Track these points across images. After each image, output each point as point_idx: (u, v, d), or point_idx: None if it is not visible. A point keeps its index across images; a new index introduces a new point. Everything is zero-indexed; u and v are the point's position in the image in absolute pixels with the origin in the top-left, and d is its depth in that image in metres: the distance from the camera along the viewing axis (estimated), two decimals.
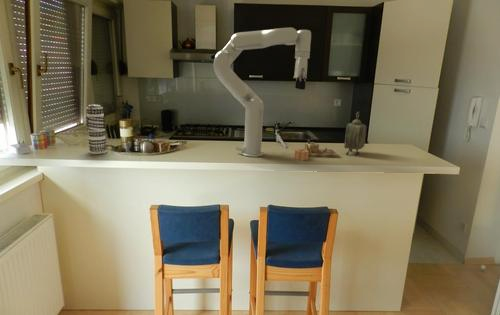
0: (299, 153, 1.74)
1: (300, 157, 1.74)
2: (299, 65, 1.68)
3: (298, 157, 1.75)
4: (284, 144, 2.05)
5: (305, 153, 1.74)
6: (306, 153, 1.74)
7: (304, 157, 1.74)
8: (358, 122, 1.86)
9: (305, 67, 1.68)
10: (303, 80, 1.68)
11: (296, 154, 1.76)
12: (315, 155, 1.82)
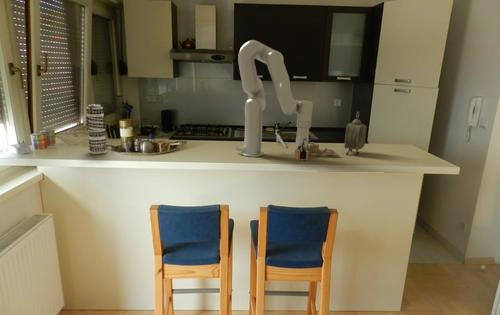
0: (299, 153, 1.74)
1: None
2: (301, 135, 1.70)
3: (298, 157, 1.75)
4: (284, 144, 2.05)
5: None
6: (306, 153, 1.74)
7: None
8: (358, 122, 1.86)
9: (306, 137, 1.70)
10: (304, 151, 1.71)
11: (296, 154, 1.76)
12: (315, 155, 1.82)
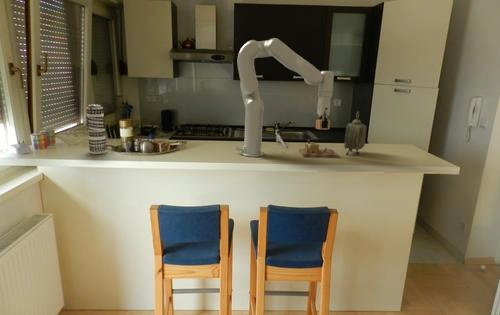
0: (321, 122, 1.79)
1: None
2: (322, 105, 1.75)
3: (320, 126, 1.80)
4: (284, 144, 2.05)
5: None
6: (328, 122, 1.79)
7: None
8: (358, 122, 1.86)
9: (328, 106, 1.75)
10: (326, 120, 1.76)
11: (318, 124, 1.81)
12: (315, 155, 1.82)
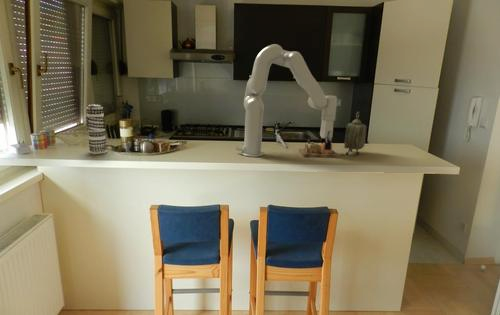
0: (323, 147, 1.85)
1: (324, 150, 1.86)
2: (326, 128, 1.81)
3: (322, 150, 1.86)
4: (284, 144, 2.05)
5: None
6: None
7: (328, 150, 1.86)
8: (358, 122, 1.86)
9: (331, 130, 1.81)
10: (329, 142, 1.81)
11: (320, 148, 1.87)
12: (315, 155, 1.82)
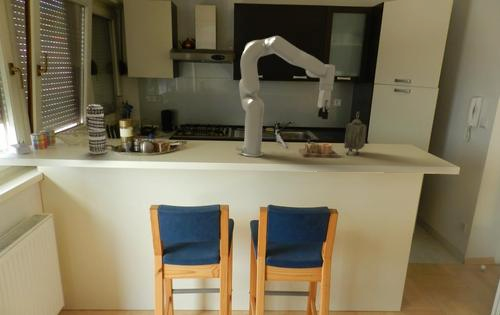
0: (323, 147, 1.85)
1: (324, 150, 1.86)
2: (323, 97, 1.80)
3: (322, 150, 1.86)
4: (284, 144, 2.05)
5: (329, 147, 1.85)
6: (330, 147, 1.85)
7: (328, 150, 1.86)
8: (358, 122, 1.86)
9: (328, 99, 1.81)
10: (326, 111, 1.81)
11: (320, 148, 1.87)
12: (315, 155, 1.82)
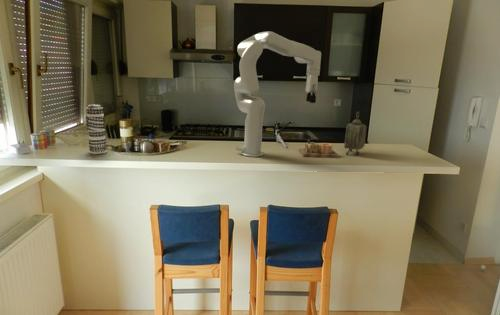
0: (323, 147, 1.85)
1: (324, 150, 1.86)
2: (310, 81, 1.90)
3: (322, 150, 1.86)
4: (284, 144, 2.05)
5: (329, 147, 1.85)
6: (330, 147, 1.85)
7: (328, 150, 1.86)
8: (358, 122, 1.86)
9: (316, 83, 1.90)
10: (314, 95, 1.90)
11: (320, 148, 1.87)
12: (315, 155, 1.82)
